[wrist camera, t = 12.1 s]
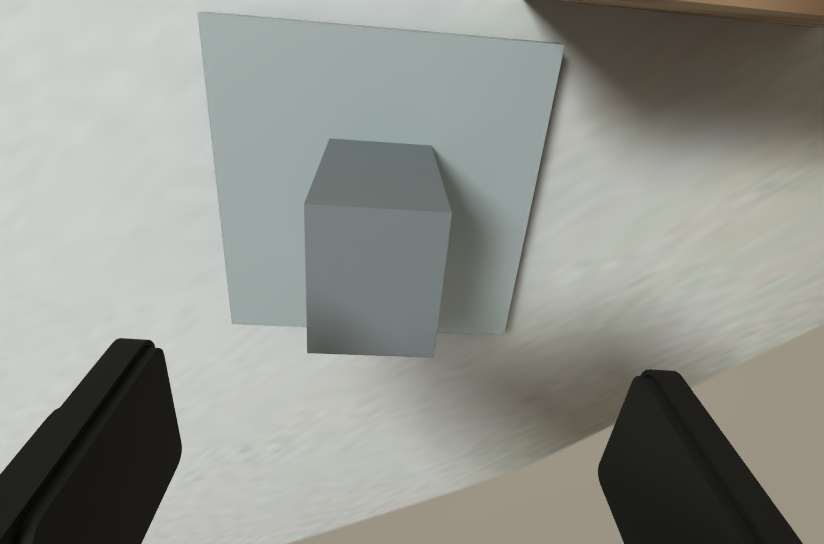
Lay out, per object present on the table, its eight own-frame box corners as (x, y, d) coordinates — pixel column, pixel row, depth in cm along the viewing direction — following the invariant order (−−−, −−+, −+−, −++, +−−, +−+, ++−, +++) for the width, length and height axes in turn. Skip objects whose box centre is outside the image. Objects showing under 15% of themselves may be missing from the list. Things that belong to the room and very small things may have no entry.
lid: (550, 41, 20) (656, 70, 12) (496, 314, 26) (543, 448, 18) (213, 11, 19) (93, 22, 11) (241, 303, 25) (177, 440, 17)
